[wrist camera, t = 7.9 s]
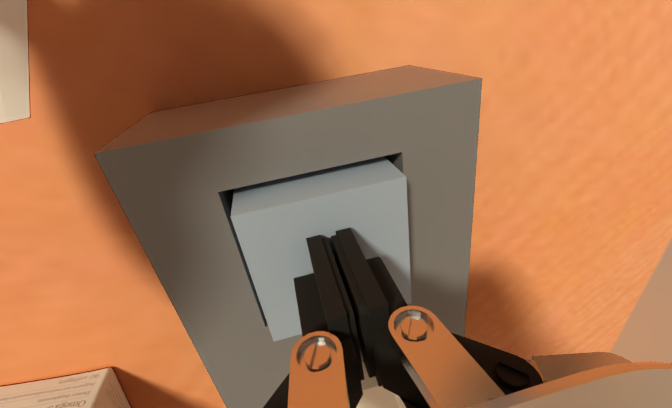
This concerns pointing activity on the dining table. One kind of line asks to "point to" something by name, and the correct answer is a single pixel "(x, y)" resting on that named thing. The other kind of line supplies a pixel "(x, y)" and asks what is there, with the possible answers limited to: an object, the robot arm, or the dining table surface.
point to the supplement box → (67, 392)
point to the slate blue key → (319, 229)
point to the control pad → (284, 161)
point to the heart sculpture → (14, 61)
